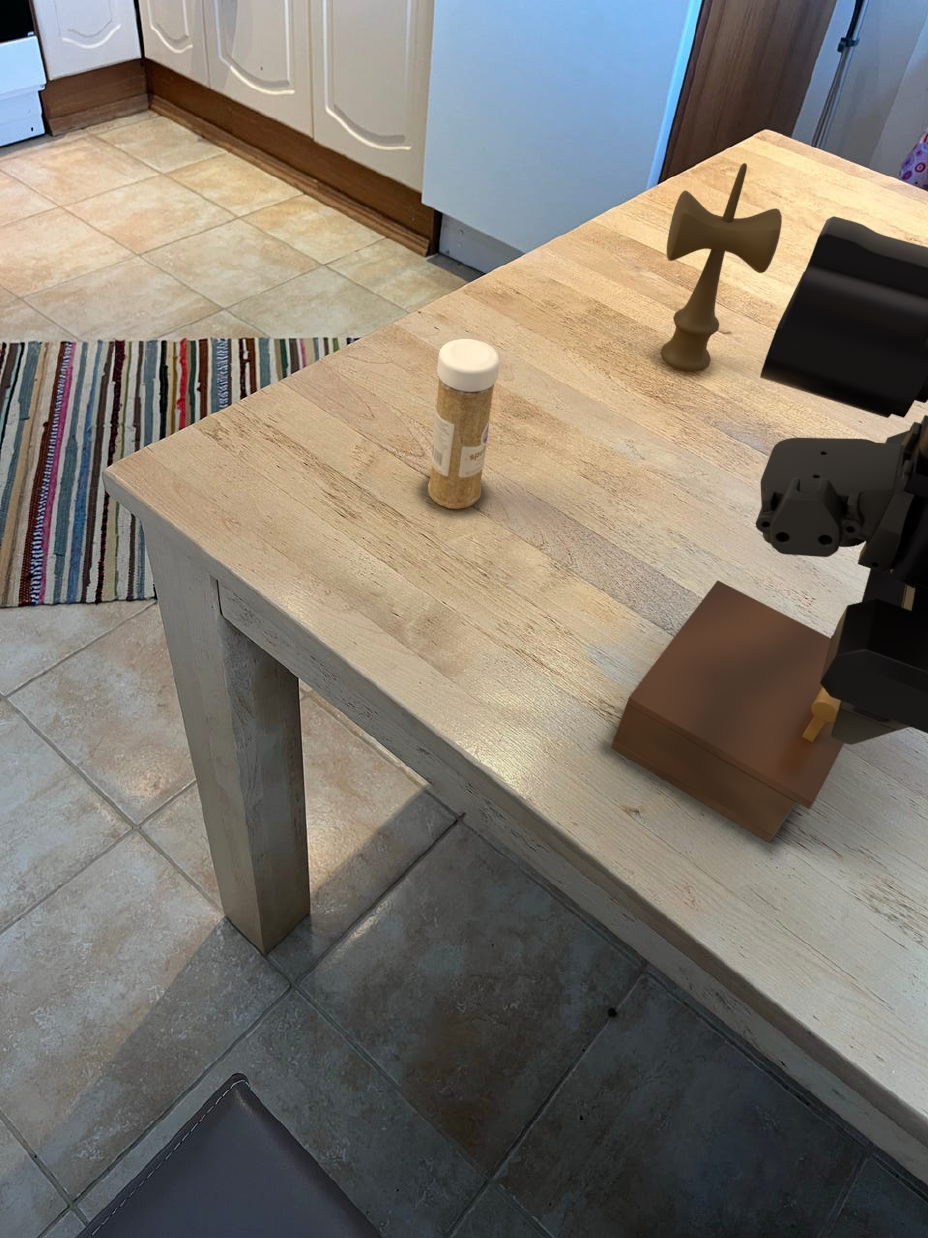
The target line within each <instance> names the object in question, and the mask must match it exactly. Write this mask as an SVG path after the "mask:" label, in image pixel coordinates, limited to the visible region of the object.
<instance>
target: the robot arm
mask: <svg viewBox="0 0 928 1238" xmlns="http://www.w3.org/2000/svg"><path fill="white" fill-rule="evenodd" d="M759 378H760V379H763V380H766V381H769V382H772V383H776V384H778V385H782V386H785V387H788V388H792V389H795V390H798V391H801V392H804V393H807V394H811V395H814V396H816V397H820V398H823V399H826V400H828V401H829V400H830V401H833V402H835V403H839V404H841V405H844V406H848V407H851V408H854V409H858V410H861V411H863V412H866V413H870V414H873V415H877V416H879V417H883V418H886V419H889V418H890V417H891V416H892V415H894V416H897V417H900V418H905V417H906V416H907V415H908V413H909V412H910V410H911V408H912V406H913V404H914V402H915V401H916V402H918V403H922V404H925V403H927V402H928V246H924V245H921V244H918V243H914V242H910V241H906V240H903V239H900V238H895V237H891V236H888V235H885V234H882V233H879V232H876V231H875V230H873V229H871V228H869V227H868V226H866V225H864V224H862V223H860V222H856V221H852V220H849V219H845V218H842V217H839V216H835V215H833V216H831V217H829V218H827V219H826V221H825V223H824V224H823V226H822V228H821V231H820V232H819V235H818V237H817V238H816V242H815V244H814V247H813V250H812V252H811V256H810V258H809V261H808V263H807V265H806V268H805V270H804V271H803V273H802V275H801V276H800V279H799V281H798V283H797V284H796V287H795V289H794V291H793V292H792V295H791V297H790V300H789V301H788V304H787V306H786V308H785V310H784V311H783V314H782V316H781V318H780V320H779V322H778V324H777V327H776V329H775V332H774V334H773V337H772V340H771V343H770V345H769V348H768V350H767V353H766V356H765V359H764V362H763V365H762V368H761V372H760V375H759ZM759 483H760V501H761V502H760V505H761V507H760V510H759V512H758V515H757V519H756V521H755V528H756V529H757V530H758V531H759V532H760V533H762V538H763V540H764V541H765V542H766V543H768V544H770V545H771V548H773V549H774V550H776V551H777V552H778V553H779V554H782V555H787V556H788V555H789V556H803V557H818V558H829V557H831V556H833V555H834V554H836V553H837V552H839V548H853V547H857V546H860V545H862V544H863V543H864V545H863V546H862V548H861V550H860V552H859V556H858V560H857V565H859V566H861V567H865V568H867V569H869V572H868V576H867V579H866V583H865V587H864V592H863V595H862V598H861V601H859V602H855V603H851V604H847V605H846V607H845V609H844V611H843V612H842V615H841V616H840V618H839V620H838V622H837V624H836V627H835V629H834V632H833V634H832V635H830V638H831V640H830V644H829V648H828V652H827V656H826V660H825V664H824V668H823V672H822V676H821V680H820V684H821V685H822V686H823V688H824V689H825V690H826V692H827V693H828V694H829V695H830V697H833V698H835V699H838V700H841V701H840V705H839V708H838V712H837V715H836V718H835V722H834V725H833V729H832V733H831V737H832V738H833V739H835V740H838V741H840V742H843V743H844V744H846V745H849V746H854V745H856V744H860V743H863V742H866V741H870V740H872V739H875V738H879V737H881V736H884V735H887V734H888V735H889V734H891V733H895V732H898V731H900V730H904V729H908V728H912V729H914V730H917V731H919V732H923V733H925V734H927V735H928V415H926V414H924V415H923V418H922V420H921V422H917V421H913V423H912V424H911V426H910V427H909V429H908V430H905V431H902V432H900V433H897V434H894V435H891V436H889V437H887V438H886V440H885V442H876V441H873V440H871V439H866V438H843V437H841V438H838V437H790V438H786V439H782V440H780V441H778V442H777V443H776V444H775V445H774V446H773V448H772V450H771V452H770V454H769V458H768V460H767V463H766V465H765V468H764V470H763V472H762V476H761V478H760V482H759Z"/></svg>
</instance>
